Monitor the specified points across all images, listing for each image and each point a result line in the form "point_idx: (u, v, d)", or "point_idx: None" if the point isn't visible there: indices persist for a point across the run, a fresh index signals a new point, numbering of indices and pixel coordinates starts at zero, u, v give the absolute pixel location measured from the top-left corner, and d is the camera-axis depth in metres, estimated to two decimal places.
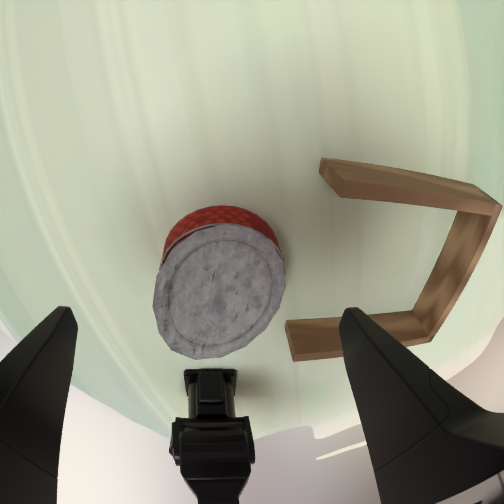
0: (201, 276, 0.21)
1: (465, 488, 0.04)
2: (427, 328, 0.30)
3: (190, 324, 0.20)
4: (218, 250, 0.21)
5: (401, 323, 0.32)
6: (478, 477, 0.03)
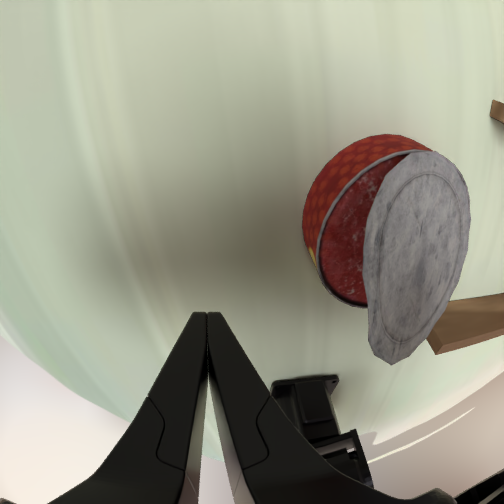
0: (410, 227, 0.12)
1: None
2: None
3: (394, 307, 0.11)
4: (428, 189, 0.12)
5: None
6: None
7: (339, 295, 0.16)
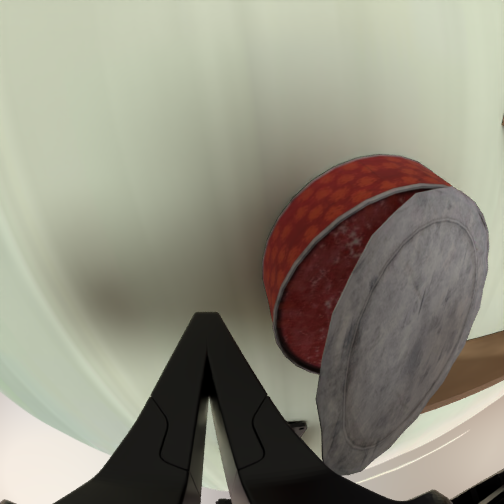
0: (406, 304, 0.08)
1: None
2: None
3: (371, 412, 0.08)
4: (437, 243, 0.08)
5: None
6: None
7: (308, 365, 0.13)
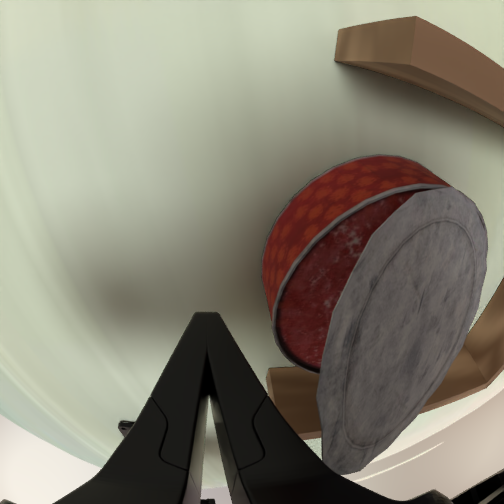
0: (405, 303, 0.08)
1: None
2: (487, 370, 0.16)
3: (370, 412, 0.08)
4: (436, 243, 0.08)
5: (451, 365, 0.18)
6: None
7: (307, 365, 0.13)
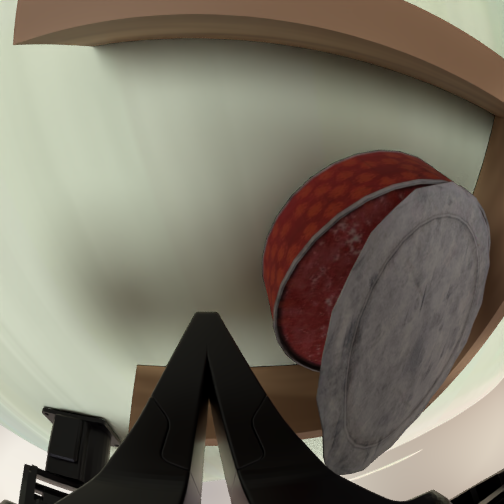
0: (407, 301, 0.08)
1: None
2: None
3: (372, 411, 0.08)
4: (438, 239, 0.08)
5: None
6: None
7: (310, 363, 0.13)
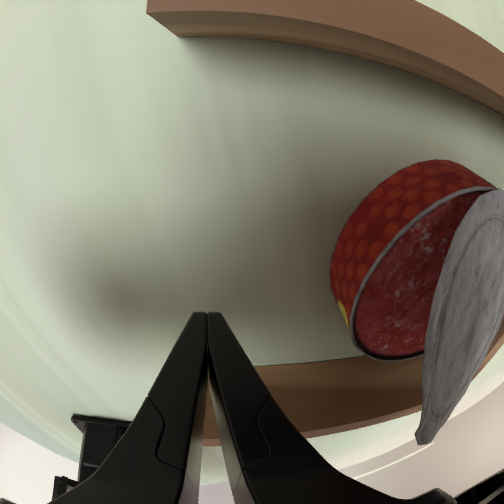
0: (469, 288, 0.08)
1: None
2: None
3: (443, 385, 0.08)
4: (489, 237, 0.08)
5: (409, 372, 0.17)
6: None
7: (370, 352, 0.13)
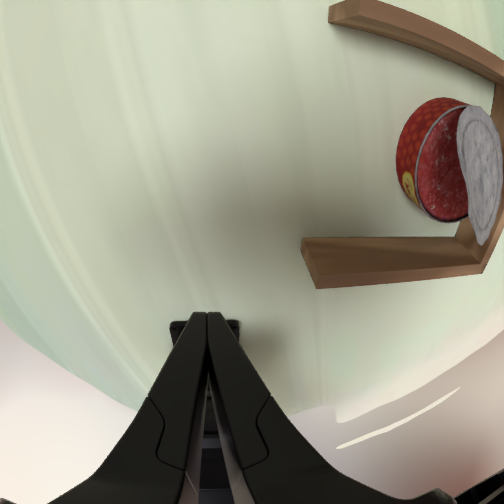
0: (473, 151, 0.15)
1: None
2: (478, 253, 0.22)
3: (474, 199, 0.15)
4: (478, 129, 0.15)
5: (447, 248, 0.23)
6: None
7: (425, 209, 0.20)
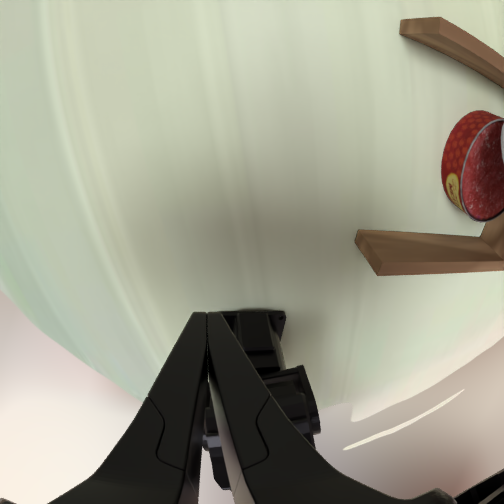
0: None
1: None
2: (502, 251, 0.23)
3: None
4: None
5: (476, 246, 0.24)
6: None
7: (465, 208, 0.21)
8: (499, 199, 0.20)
